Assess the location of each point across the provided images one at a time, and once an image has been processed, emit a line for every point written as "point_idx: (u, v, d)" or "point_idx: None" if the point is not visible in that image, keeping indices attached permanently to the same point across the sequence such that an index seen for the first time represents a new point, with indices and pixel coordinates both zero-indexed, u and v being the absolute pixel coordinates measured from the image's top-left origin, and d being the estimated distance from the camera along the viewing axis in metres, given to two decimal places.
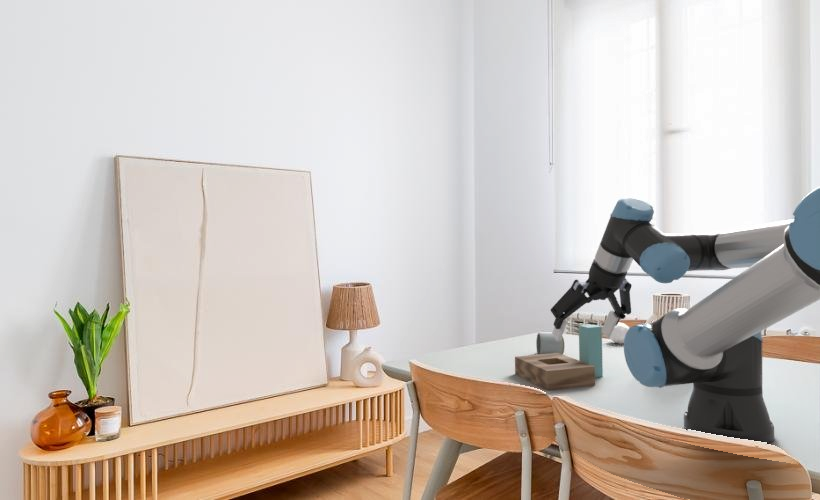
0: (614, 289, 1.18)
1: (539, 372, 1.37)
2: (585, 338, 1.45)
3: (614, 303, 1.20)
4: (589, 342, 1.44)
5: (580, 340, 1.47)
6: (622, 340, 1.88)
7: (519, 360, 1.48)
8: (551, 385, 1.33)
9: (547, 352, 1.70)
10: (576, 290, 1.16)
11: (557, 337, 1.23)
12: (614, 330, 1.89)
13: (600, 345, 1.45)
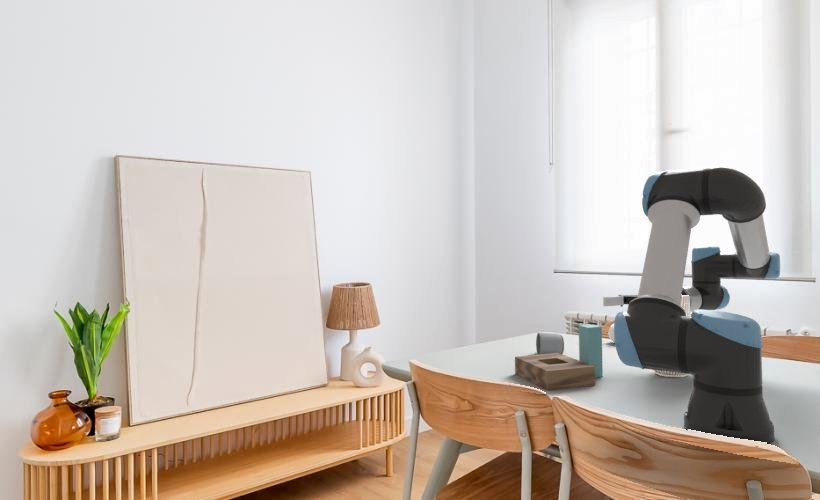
0: None
1: (539, 372, 1.37)
2: (585, 338, 1.45)
3: None
4: (589, 342, 1.44)
5: (580, 340, 1.47)
6: None
7: (519, 360, 1.48)
8: (551, 385, 1.33)
9: (547, 352, 1.71)
10: None
11: None
12: None
13: (600, 345, 1.45)
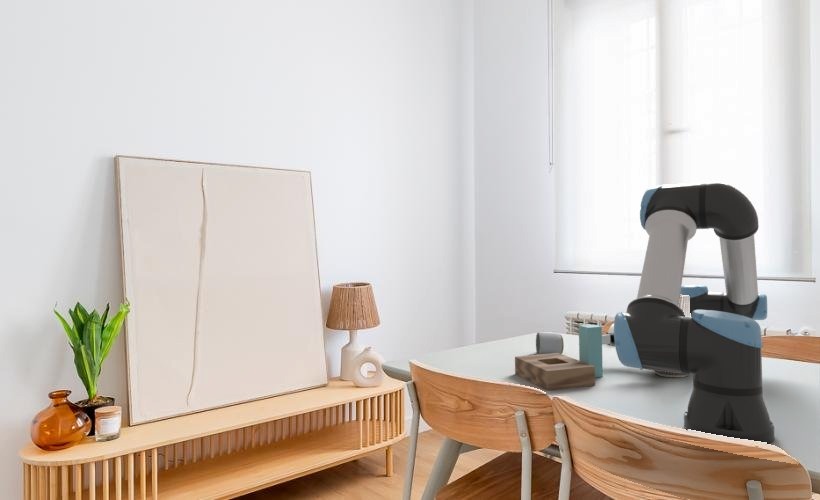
0: None
1: (539, 372, 1.37)
2: (585, 338, 1.45)
3: None
4: (589, 342, 1.44)
5: (580, 340, 1.47)
6: None
7: (519, 360, 1.48)
8: (551, 385, 1.33)
9: (546, 351, 1.71)
10: None
11: None
12: None
13: (600, 345, 1.45)
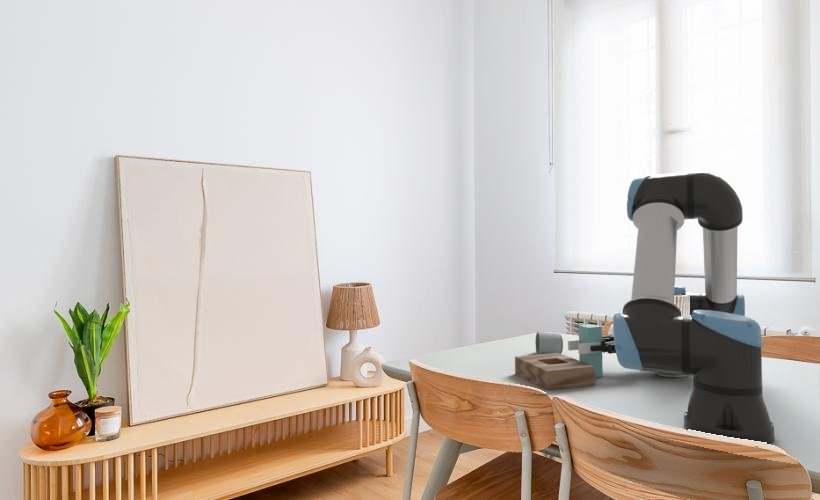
0: None
1: (539, 372, 1.37)
2: (585, 338, 1.45)
3: None
4: (589, 342, 1.44)
5: (580, 340, 1.48)
6: None
7: (519, 360, 1.48)
8: (551, 385, 1.33)
9: (546, 351, 1.72)
10: None
11: None
12: None
13: None
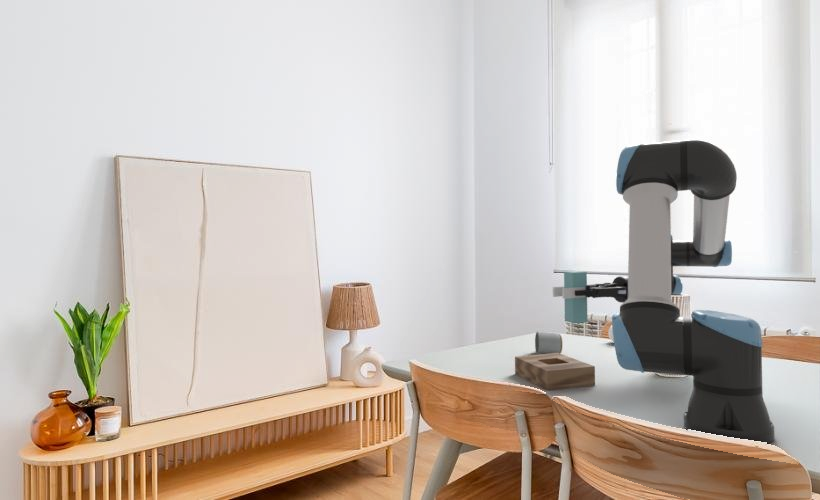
0: (617, 286, 1.46)
1: (539, 372, 1.37)
2: (569, 283, 1.45)
3: (600, 287, 1.46)
4: (574, 287, 1.43)
5: (565, 286, 1.47)
6: None
7: (519, 360, 1.48)
8: (551, 385, 1.33)
9: (545, 351, 1.73)
10: None
11: None
12: None
13: None
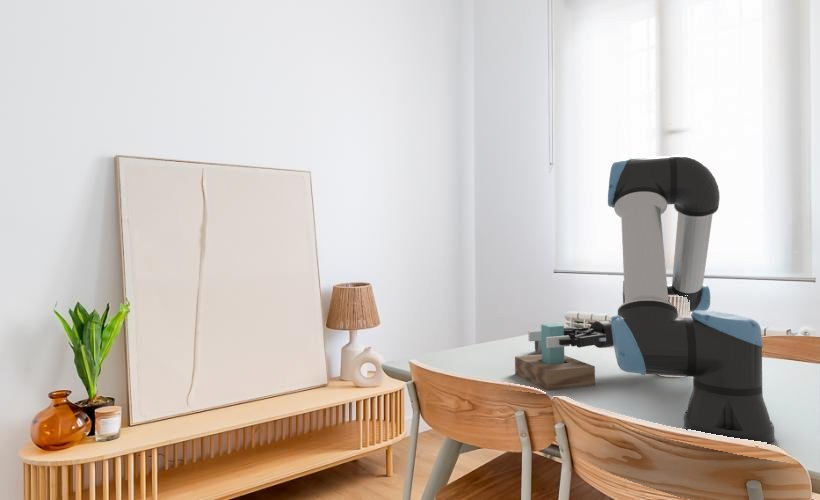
0: (595, 332, 1.44)
1: (539, 372, 1.37)
2: None
3: (581, 334, 1.42)
4: None
5: (542, 339, 1.44)
6: None
7: (519, 360, 1.48)
8: (551, 385, 1.33)
9: None
10: None
11: None
12: None
13: None
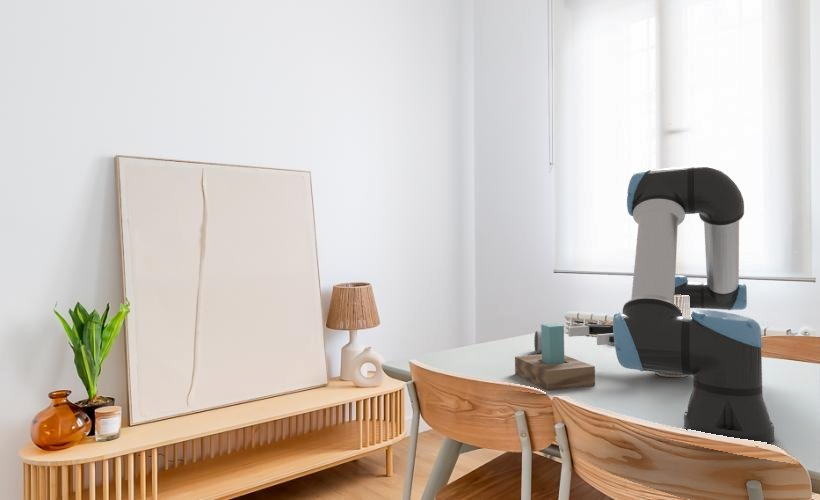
0: None
1: (539, 372, 1.37)
2: (546, 337, 1.42)
3: None
4: (551, 342, 1.41)
5: (542, 339, 1.44)
6: None
7: (519, 360, 1.48)
8: (551, 385, 1.33)
9: None
10: None
11: None
12: None
13: (562, 345, 1.42)
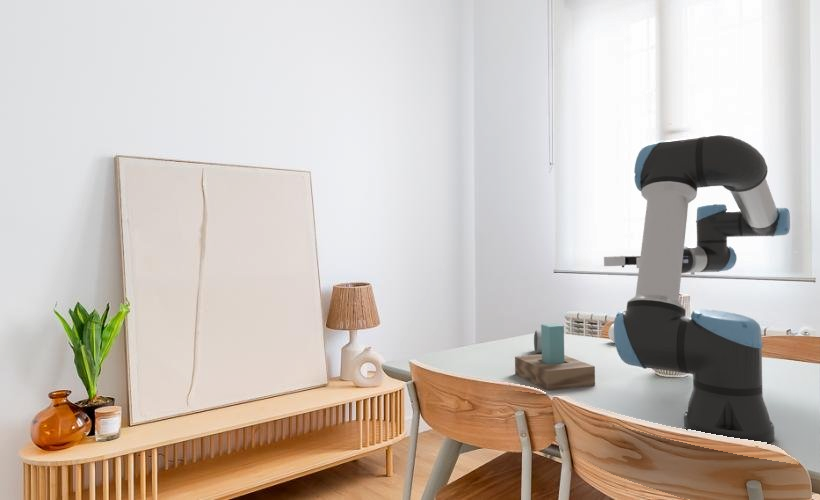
0: None
1: (539, 372, 1.37)
2: (546, 337, 1.42)
3: None
4: (551, 342, 1.41)
5: (542, 339, 1.44)
6: None
7: (519, 360, 1.48)
8: (551, 385, 1.33)
9: None
10: None
11: None
12: None
13: (562, 345, 1.42)
